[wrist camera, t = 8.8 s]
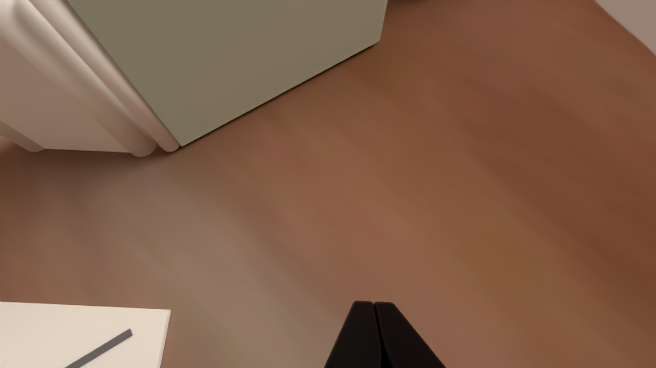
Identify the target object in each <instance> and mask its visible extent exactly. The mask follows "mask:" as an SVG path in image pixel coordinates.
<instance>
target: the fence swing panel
mask: <svg viewBox="0 0 656 368" xmlns="http://www.w3.org/2000/svg"><path fill="white" fill-rule="evenodd" d="M29 1H30V3H31V4H32V5H33V6H34V7H35V8H36V9H37V10H38V11H39V13H40V14H41V15H42V16H43V17H44V18H45V19H46V20H47V21H48V22H49V24H50V25H51V26H52V27H53V28H54V29H55V30H56V31H57V32H58V34H59V35H60V36H61V37H62V38H63V39H64V40H65V41H66V42H67V43H68V45H69V46H70V47H71V48H72V49H73V50H74V51H75V52H76V53H77V55H78V56H79V57H80V58H81V59H82V60H83V61H84V62H85V63H86V64H87V66H88V67H89V68H90V69H91V70H92V71H93V72H94V73H95V74H96V76H97V77H98V78H99V79H100V80H101V81H102V82H103V83H104V84H105V85H106V87H107V88H108V89H109V90H110V91H111V92H112V93H113V94H114V95H115V97H116V98H117V99H118V100H119V101H120V102H121V103H122V104H123V105H124V106H125V108H126V109H127V110H128V111H129V112H130V113H131V114H132V115H133V116H134V118H135V119H136V120H137V121H138V122H139V123H140V124H141V125H142V126H143V128H144V129H145V130H146V131H147V132H148V133H149V134H150V135H151V136H152V137H153V139H154V140H155V141H156V142H157V143H158V144H159V145H160V146H161V147H162V149H163V150H165V151H167V152H172V151H175V150H176V149H177V148H178V147H179V146H180V145H181V146H184V145H186V144H188V143H190V142H192V141H193V140H195V139H197V138H199V137H201V136H203V135H205V134H207V133H208V132H210V131H212V130H214V129H216V128H218V127H220V126H221V125H223V124H225V123H227V122H229V121H231V120H233V119H235V118H236V117H238V116H240V115H242V114H244V113H246V112H248V111H249V110H251V109H253V108H255V107H257V106H259V105H261V104H263V103H264V102H266V101H268V100H270V99H272V98H274V97H276V96H278V95H279V94H281V93H283V92H285V91H287V90H289V89H291V88H292V87H294V86H296V85H298V84H300V83H302V82H304V81H306V80H307V79H309V78H311V77H313V76H315V75H317V74H319V73H321V72H322V71H324V70H326V69H328V68H330V67H332V66H334V65H335V64H337V63H339V62H341V61H343V60H345V59H347V58H349V57H350V56H352V55H354V54H356V53H358V52H360V51H362V50H364V49H365V48H367V47H369V46H371V45H373V44H375V43H377V42H378V41H380V37H381V32H382V27H383V22H384V17H385V12H386V7H387V2H388V0H29Z"/></svg>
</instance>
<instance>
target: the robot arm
mask: <svg viewBox="0 0 656 368" xmlns="http://www.w3.org/2000/svg"><path fill="white" fill-rule="evenodd" d="M324 368H446V367H445V366H444V365H443V363H442V362H441V361H440V360H439V358H438V357H437V356H436V355H435V354H434V352H433V351H432V350H431V349H430V347H429V346H428V345H427V344H426V343H425V341H424V340H423V339H422V338H421V336H420V335H419V334H418V333H417V332H416V330H415V329H414V328H413V327H412V325H411V324H410V323H409V322H408V321H407V319H406V318H405V317H404V316H403V314H402V313H401V312H400V311H399V309H398V308H397V307H396V306H395V305H394V304H393V303H391V302H375V303H374V304H373V303H372V302H371V301H355V302H354V303H353V305H352V307H351V309H350V311H349V313H348V316H347V318H346V320H345V322H344V324H343V327H342V329H341V331H340V333H339V336H338V338H337V340H336V342H335V344H334V347H333V349H332V351H331V353H330V355H329V358H328V360H327V362H326V364H325V367H324Z"/></svg>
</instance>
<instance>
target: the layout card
mask: <svg viewBox="0 0 656 368" xmlns="http://www.w3.org/2000/svg"><path fill="white" fill-rule="evenodd" d="M170 312H171V310H161V309H140V308H119V307H98V306H78V305H57V304H36V303H15V302H0V368H160V365H161V360H162V355H163V349H164V344H165V339H166V334H167V328H168V323H169V318H170Z"/></svg>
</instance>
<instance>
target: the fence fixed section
mask: <svg viewBox="0 0 656 368" xmlns="http://www.w3.org/2000/svg"><path fill="white" fill-rule="evenodd" d="M0 135H2V136H4V137H5V138H7V139H9V140H10V141H12V142H14V143H16V144H17V145H19V146H21V147H22V148H24V149H26V150H27V151H29V152H39V151H42V150H44V149H63V150H85V151H106V152H128V153H131V154H133V155H134V156H136V157H146V156H148V155H150V154H151V153H152V152H153V151H154V150H155V148H156V146H157V142H156V141H155V140H154V139H153V137H152V136H151V135H150V134H149V133H148V132H147V131H146V130H145V129H144V128H143V126H142V125H141V124H140V123H139V122H138V121H137V120H136V119H135V118H134V116H133V115H132V114H131V113H130V112H129V111H128V110H127V109H126V108H125V106H124V105H123V104H122V103H121V102H120V101H119V100H118V99H117V98H116V97H115V95H114V94H113V93H112V92H111V91H110V90H109V89H108V88H107V87H106V85H105V84H104V83H103V82H102V81H101V80H100V79H99V78H98V77H97V76H96V74H95V73H94V72H93V71H92V70H91V69H90V68H89V67H88V66H87V64H86V63H85V62H84V61H83V60H82V59H81V58H80V57H79V56H78V55H77V53H76V52H75V51H74V50H73V49H72V48H71V47H70V46H69V45H68V43H67V42H66V41H65V40H64V39H63V38H62V37H61V36H60V35H59V34H58V32H57V31H56V30H55V29H54V28H53V27H52V26H51V25H50V24H49V22H48V21H47V20H46V19H45V18H44V17H43V16H42V15H41V14H40V13H39V11H38V10H37V9H36V8H35V7H34V6H33V5H32V4H31V3H30V1H29V0H0Z"/></svg>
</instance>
